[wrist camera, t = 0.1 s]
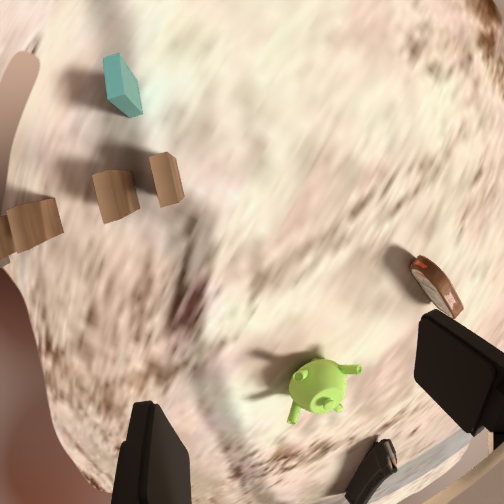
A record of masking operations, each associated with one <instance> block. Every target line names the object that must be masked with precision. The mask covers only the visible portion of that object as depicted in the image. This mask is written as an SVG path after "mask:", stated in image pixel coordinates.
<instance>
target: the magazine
mask: <svg viewBox="0 0 504 504" xmlns="http://www.w3.org/2000/svg"><path fill="white" fill-rule="evenodd" d="M374 445H375V447H374V448H373V449H372V450H371V451H370V453H369V454H368V455H367V456H366V457H365V459H364V460H363V461H362V463H361V464H360V466H359V468H358V469H357V471H356V473H355V475H354V477H353V479H352V481H351V483H350V485H349V488H348V490H347V492H346V495H345V498H346V499H347V500H348V502H349V503H350V504H367V503H368V501H369V499H370V498H371V496H372V495H373V494H374V492H375V491H376V489H377V488H378V487H379V486H380V485H381V484H382V482H383V481H384V480H385V479H387V478H388V477H389V476H390V475H392V474H393V473H396V472H397V467H396V464H397V458H396V451H395V449H394V447H393V444H392V442H391V440H390V439H383V440H381V441H380V442H379V443H378V442H375V443H374Z"/></svg>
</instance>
